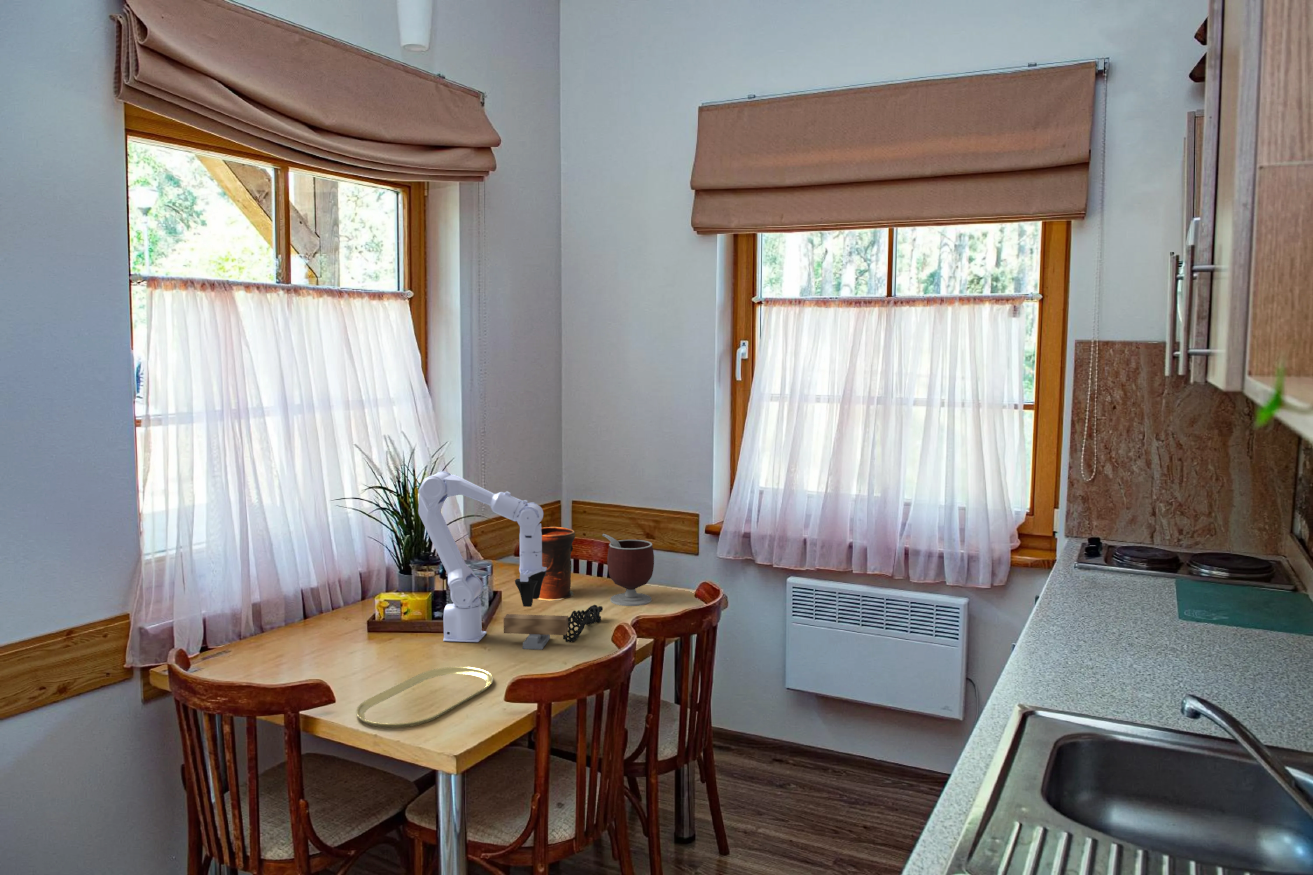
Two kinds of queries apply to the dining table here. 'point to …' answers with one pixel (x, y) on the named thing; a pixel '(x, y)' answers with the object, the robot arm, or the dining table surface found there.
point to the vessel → (556, 563)
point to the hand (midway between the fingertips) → (531, 602)
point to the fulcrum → (535, 641)
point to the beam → (536, 624)
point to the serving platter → (415, 680)
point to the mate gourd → (630, 569)
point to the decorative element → (582, 621)
